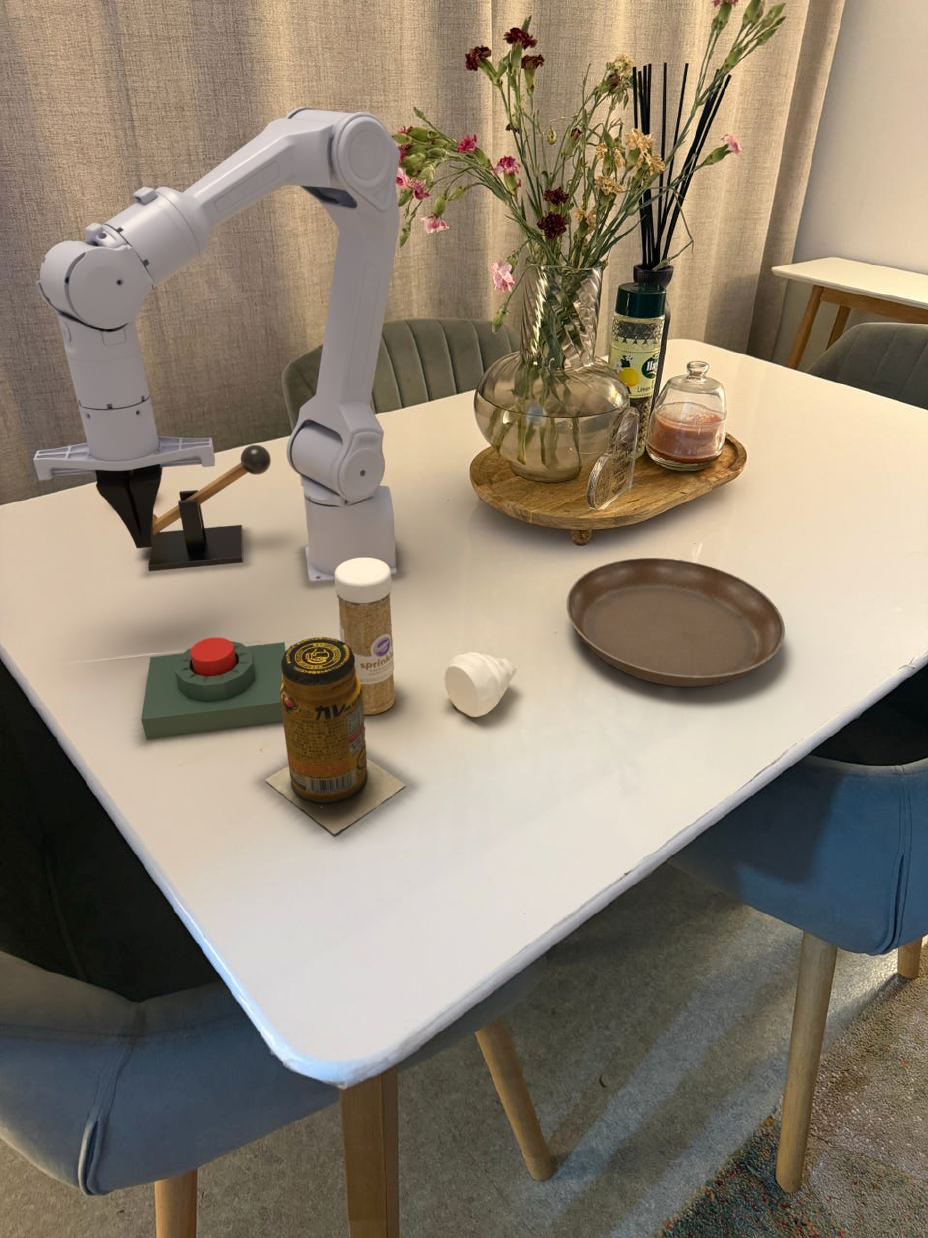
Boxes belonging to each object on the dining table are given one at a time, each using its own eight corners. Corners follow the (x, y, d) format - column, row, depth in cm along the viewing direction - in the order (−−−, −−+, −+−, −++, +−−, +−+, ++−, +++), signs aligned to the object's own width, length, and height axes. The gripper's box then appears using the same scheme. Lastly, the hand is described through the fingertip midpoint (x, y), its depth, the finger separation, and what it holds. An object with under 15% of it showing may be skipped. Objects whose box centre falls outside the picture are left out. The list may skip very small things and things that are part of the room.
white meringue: (531, 700, 79) (534, 650, 76) (482, 730, 75) (484, 678, 72) (487, 673, 82) (489, 624, 79) (439, 700, 79) (439, 650, 76)
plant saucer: (825, 662, 84) (833, 633, 82) (655, 730, 75) (660, 699, 74) (680, 567, 99) (684, 540, 97) (524, 615, 90) (525, 587, 89)
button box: (287, 661, 84) (282, 625, 81) (291, 721, 76) (286, 684, 74) (154, 676, 81) (146, 640, 79) (146, 739, 74) (136, 702, 72)
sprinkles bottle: (377, 723, 76) (369, 588, 69) (334, 706, 78) (322, 574, 71) (406, 694, 79) (401, 563, 72) (364, 679, 81) (355, 550, 74)
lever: (276, 457, 99) (258, 434, 97) (277, 468, 96) (258, 445, 94) (152, 540, 101) (132, 519, 99) (150, 553, 98) (129, 532, 97)
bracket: (242, 532, 105) (234, 477, 101) (243, 564, 99) (234, 507, 95) (155, 539, 104) (143, 484, 100) (149, 573, 97) (137, 515, 93)
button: (236, 651, 79) (233, 635, 78) (236, 675, 76) (233, 658, 75) (194, 656, 78) (191, 639, 77) (192, 680, 75) (189, 663, 74)
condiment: (336, 738, 74) (324, 618, 68) (406, 787, 70) (401, 663, 63) (265, 782, 70) (245, 658, 63) (334, 837, 65) (321, 710, 58)
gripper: (204, 377, 78) (226, 516, 86) (29, 388, 76) (67, 530, 83) (203, 404, 73) (226, 550, 80) (13, 417, 70) (55, 567, 77)
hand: (145, 542), depth 81 cm, fingers closed
